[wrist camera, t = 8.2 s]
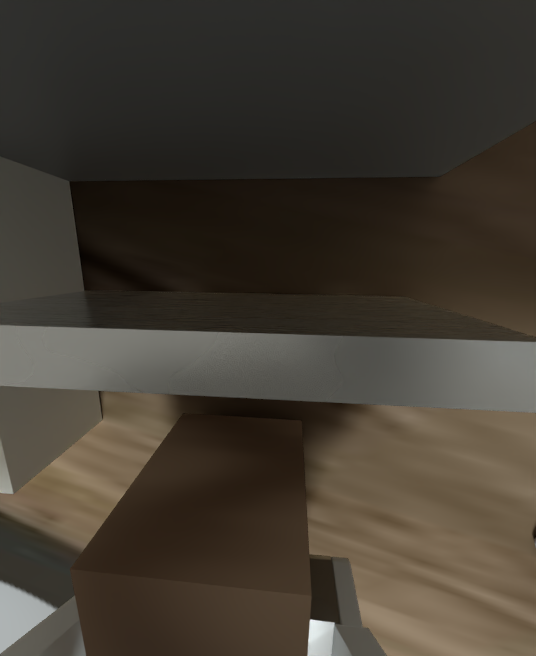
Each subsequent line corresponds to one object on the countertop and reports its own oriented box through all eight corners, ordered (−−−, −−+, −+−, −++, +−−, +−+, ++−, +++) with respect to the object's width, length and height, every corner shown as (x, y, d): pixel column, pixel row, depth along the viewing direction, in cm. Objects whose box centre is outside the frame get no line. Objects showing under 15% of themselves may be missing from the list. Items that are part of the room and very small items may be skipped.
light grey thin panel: (404, 296, 8) (553, 342, 4) (400, 328, 9) (535, 412, 4) (8, 288, 10) (-288, 316, 5) (13, 317, 10) (-263, 372, 5)
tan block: (301, 420, 9) (311, 596, 4) (292, 603, 11) (292, 869, 6) (183, 413, 10) (70, 569, 5) (193, 591, 11) (120, 836, 7)
